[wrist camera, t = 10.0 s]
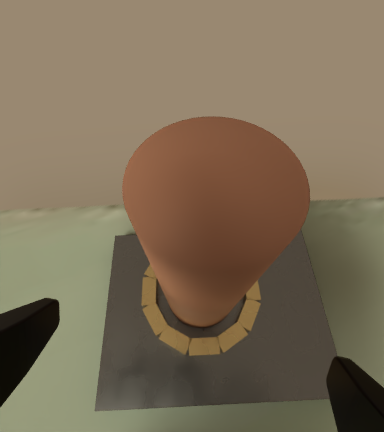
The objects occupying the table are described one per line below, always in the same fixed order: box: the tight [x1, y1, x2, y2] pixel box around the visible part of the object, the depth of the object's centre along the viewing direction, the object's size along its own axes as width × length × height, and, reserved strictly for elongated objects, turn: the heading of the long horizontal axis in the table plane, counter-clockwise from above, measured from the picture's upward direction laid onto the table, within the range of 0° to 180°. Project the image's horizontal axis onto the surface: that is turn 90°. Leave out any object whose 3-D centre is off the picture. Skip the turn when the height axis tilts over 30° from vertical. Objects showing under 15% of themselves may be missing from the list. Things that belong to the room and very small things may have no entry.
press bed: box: [95, 229, 337, 411], centre depth 19 cm, size 16×12×2 cm
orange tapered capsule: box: [122, 117, 310, 328], centre depth 13 cm, size 5×5×14 cm
